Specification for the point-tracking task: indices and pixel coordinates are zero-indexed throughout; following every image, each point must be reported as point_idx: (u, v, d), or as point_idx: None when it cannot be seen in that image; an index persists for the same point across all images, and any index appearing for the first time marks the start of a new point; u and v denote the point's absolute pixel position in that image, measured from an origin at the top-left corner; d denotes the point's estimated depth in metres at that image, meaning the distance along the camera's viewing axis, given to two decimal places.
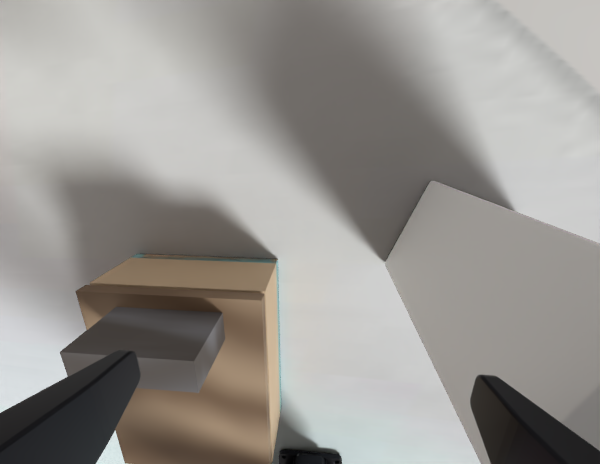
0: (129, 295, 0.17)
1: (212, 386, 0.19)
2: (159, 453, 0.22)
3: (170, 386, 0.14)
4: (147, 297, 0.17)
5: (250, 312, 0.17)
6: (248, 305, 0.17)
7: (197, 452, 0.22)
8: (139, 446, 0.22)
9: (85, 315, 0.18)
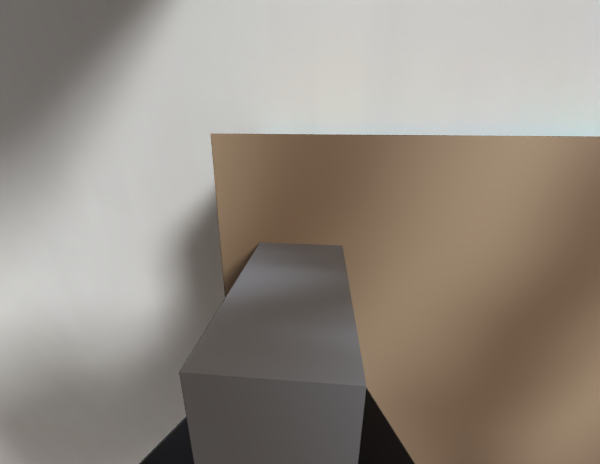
0: None
1: (508, 300, 0.07)
2: None
3: None
4: None
5: (252, 168, 0.06)
6: (231, 172, 0.06)
7: None
8: None
9: None
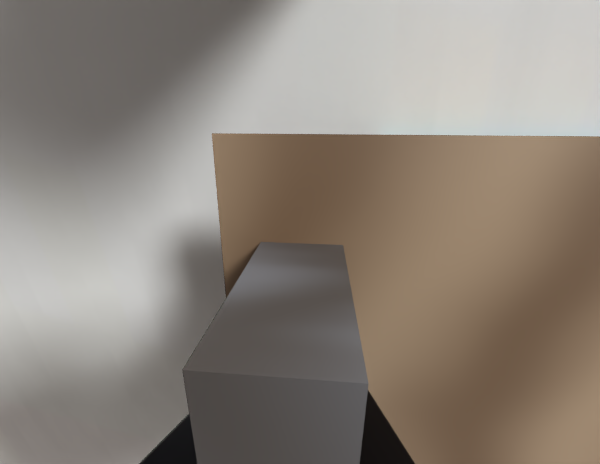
0: None
1: (509, 300, 0.07)
2: None
3: None
4: None
5: (253, 168, 0.06)
6: (232, 172, 0.06)
7: None
8: None
9: None
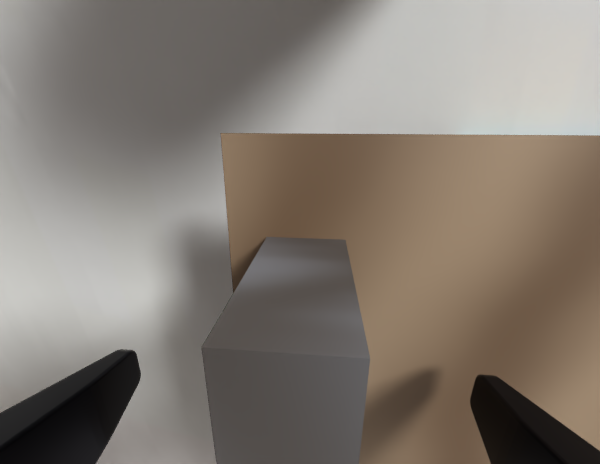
0: None
1: (504, 292, 0.07)
2: None
3: (339, 443, 0.04)
4: None
5: (259, 166, 0.07)
6: (239, 170, 0.07)
7: None
8: None
9: None
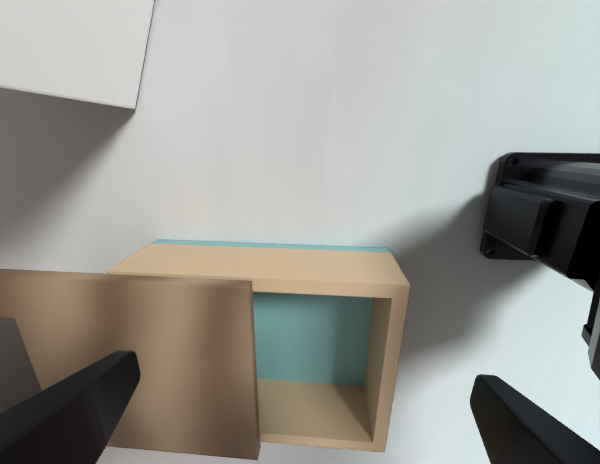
0: None
1: (90, 341, 0.15)
2: (229, 419, 0.16)
3: None
4: None
5: None
6: None
7: (216, 377, 0.15)
8: (221, 437, 0.17)
9: None
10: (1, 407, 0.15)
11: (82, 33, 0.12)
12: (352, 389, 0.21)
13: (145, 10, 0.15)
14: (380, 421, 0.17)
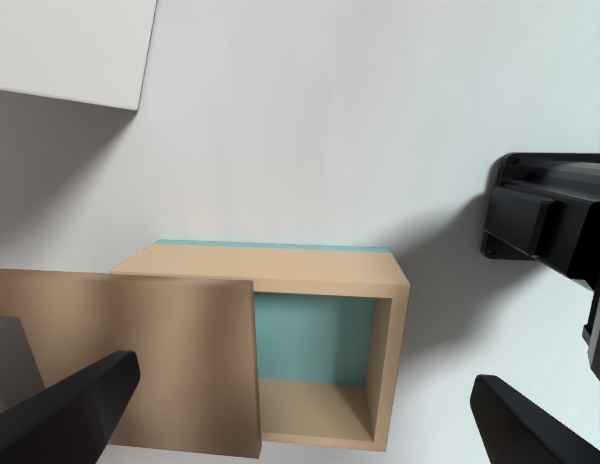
0: None
1: (94, 341, 0.15)
2: (230, 418, 0.16)
3: None
4: None
5: None
6: None
7: (217, 376, 0.15)
8: (222, 436, 0.17)
9: None
10: (6, 405, 0.15)
11: (85, 36, 0.12)
12: (353, 389, 0.21)
13: (147, 13, 0.15)
14: (381, 421, 0.17)
